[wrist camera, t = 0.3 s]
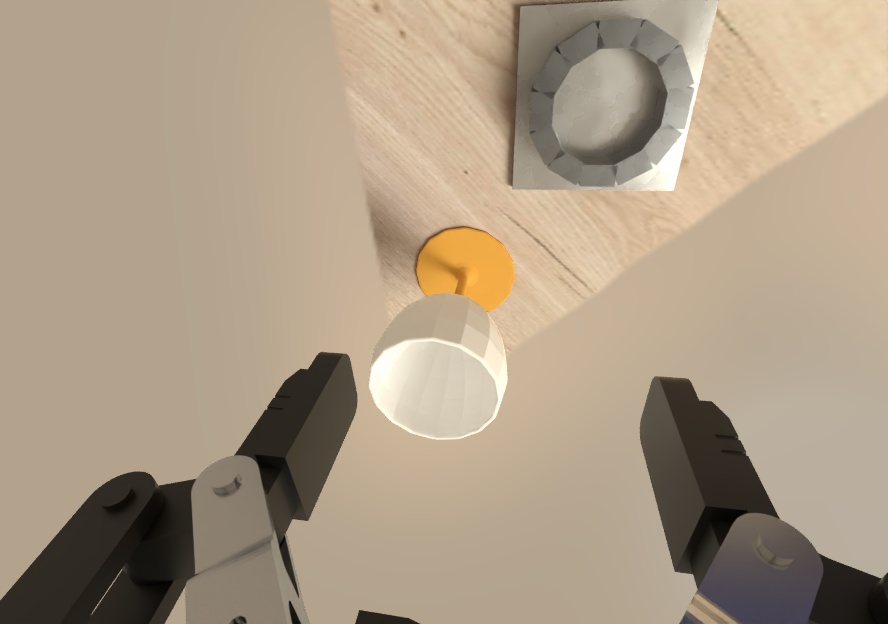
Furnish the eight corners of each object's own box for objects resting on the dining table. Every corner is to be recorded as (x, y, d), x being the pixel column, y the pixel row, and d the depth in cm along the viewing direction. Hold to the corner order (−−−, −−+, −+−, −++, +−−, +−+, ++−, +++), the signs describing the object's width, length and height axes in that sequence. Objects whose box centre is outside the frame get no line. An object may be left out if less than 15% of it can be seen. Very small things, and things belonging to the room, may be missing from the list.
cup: (527, 301, 41) (527, 432, 28) (439, 324, 44) (400, 453, 31) (495, 212, 37) (476, 315, 24) (400, 244, 40) (336, 352, 27)
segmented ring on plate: (520, 6, 29) (519, 4, 27) (716, -5, 27) (735, -8, 25) (512, 187, 36) (511, 199, 33) (671, 188, 34) (683, 201, 31)
